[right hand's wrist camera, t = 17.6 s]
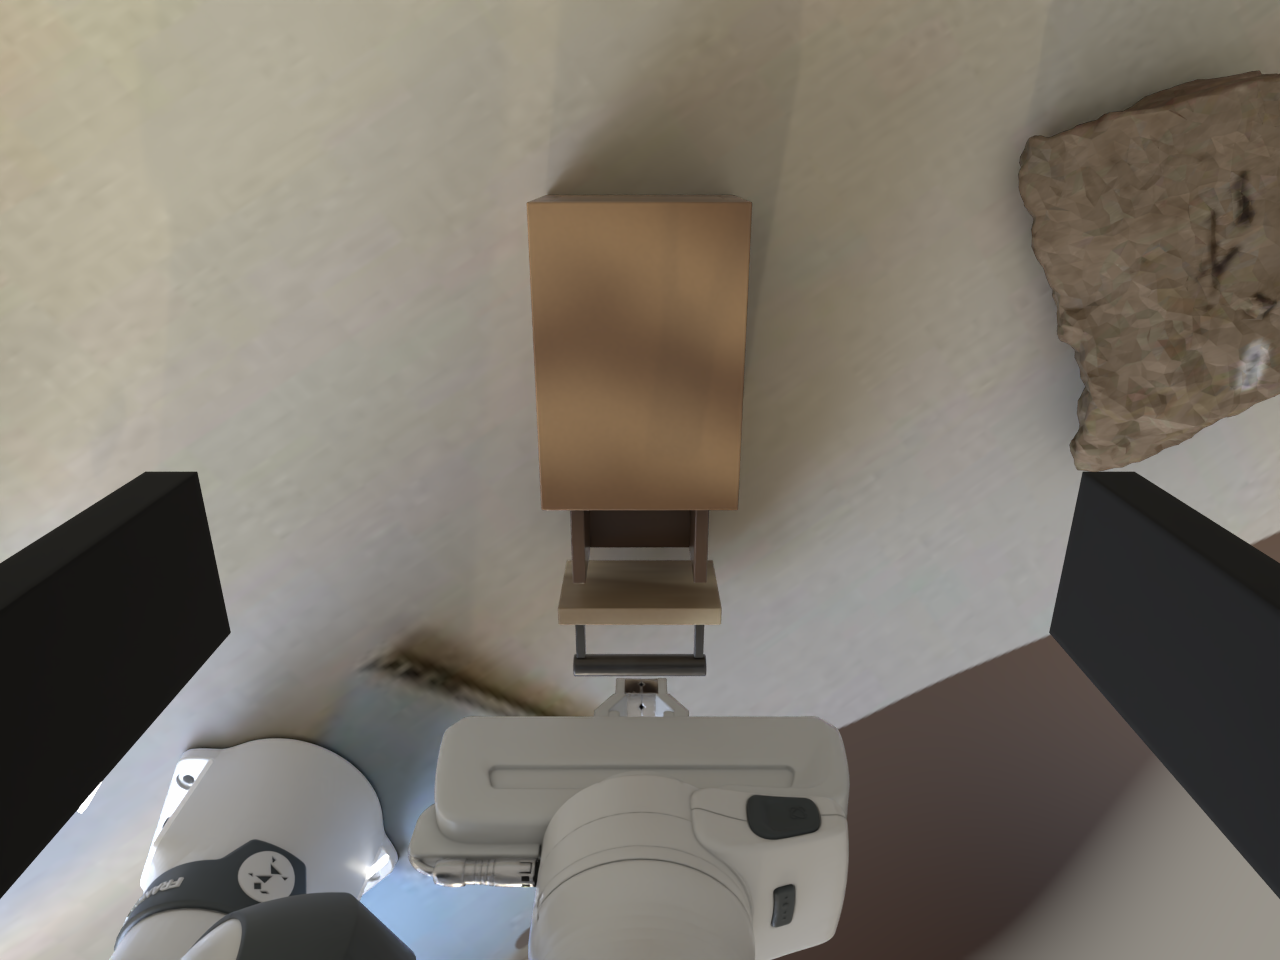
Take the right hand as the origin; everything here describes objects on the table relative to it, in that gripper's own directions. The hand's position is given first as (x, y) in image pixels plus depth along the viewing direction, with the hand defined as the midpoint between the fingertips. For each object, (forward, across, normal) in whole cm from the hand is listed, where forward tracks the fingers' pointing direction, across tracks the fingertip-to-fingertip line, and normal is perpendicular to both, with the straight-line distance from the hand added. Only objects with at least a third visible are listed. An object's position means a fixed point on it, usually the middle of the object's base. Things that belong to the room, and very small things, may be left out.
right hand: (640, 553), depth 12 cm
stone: (+41, +31, -1) cm, 51 cm away
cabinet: (+41, 0, -5) cm, 41 cm away
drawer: (+40, 0, -17) cm, 43 cm away
